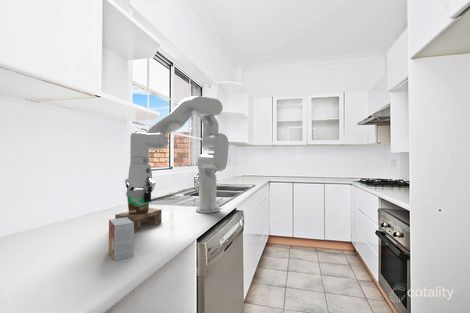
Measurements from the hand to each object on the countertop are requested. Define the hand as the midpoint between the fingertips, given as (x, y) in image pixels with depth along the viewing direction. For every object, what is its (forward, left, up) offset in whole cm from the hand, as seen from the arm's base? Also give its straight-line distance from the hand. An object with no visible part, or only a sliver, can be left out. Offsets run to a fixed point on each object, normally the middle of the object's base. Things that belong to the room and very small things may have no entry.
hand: (139, 200), depth 106 cm
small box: (+24, +19, -11) cm, 33 cm away
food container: (0, +2, -5) cm, 5 cm away
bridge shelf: (0, 0, -11) cm, 11 cm away
